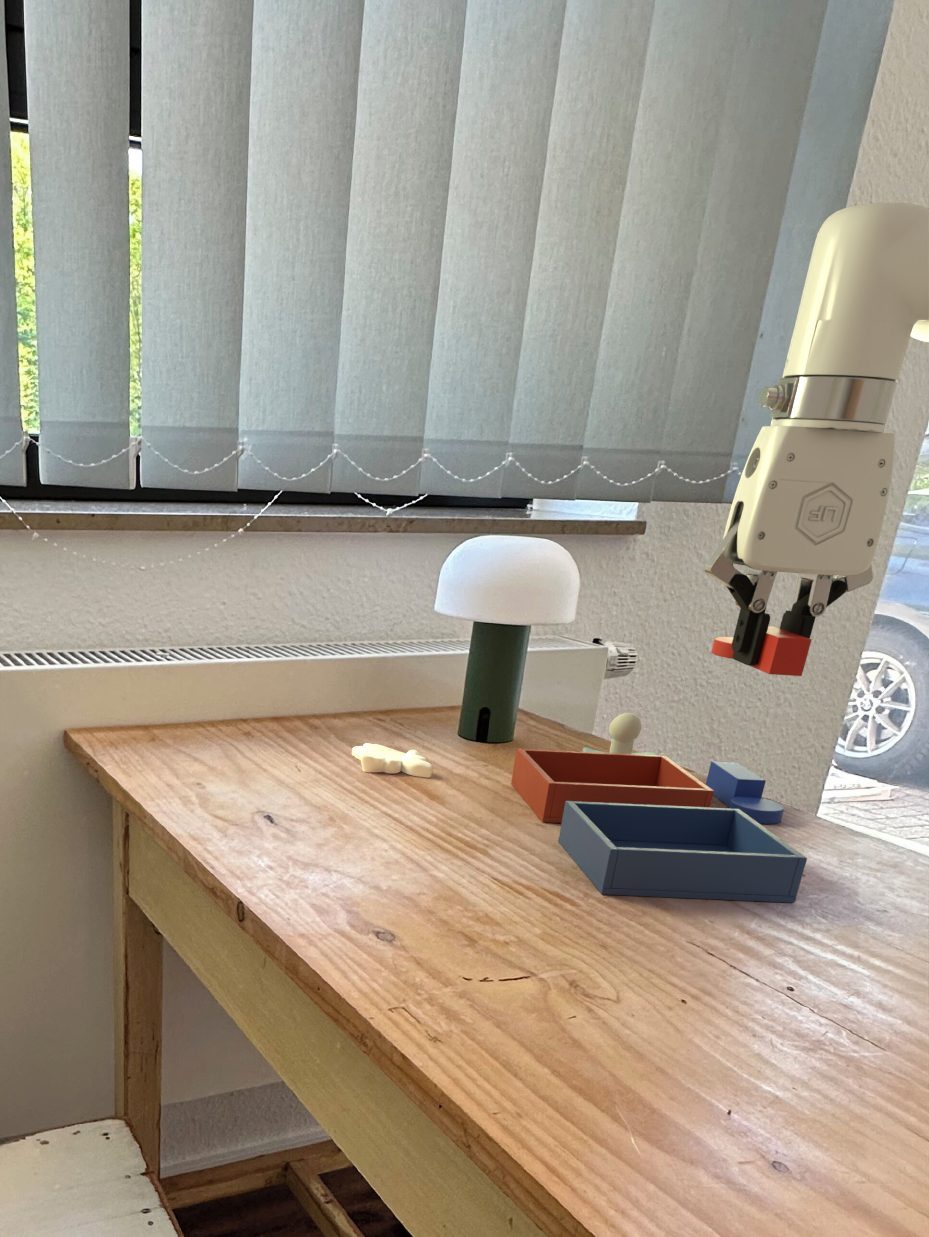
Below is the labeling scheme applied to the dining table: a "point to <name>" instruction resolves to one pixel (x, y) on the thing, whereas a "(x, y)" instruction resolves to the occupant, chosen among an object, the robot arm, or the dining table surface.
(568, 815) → the blue bin
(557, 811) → the red bin
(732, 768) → the blue disc paddle
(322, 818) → the dining table surface
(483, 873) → the dining table surface
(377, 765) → the acanthus leaf ornament
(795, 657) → the red disc paddle
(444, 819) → the dining table surface
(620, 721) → the pacifier
